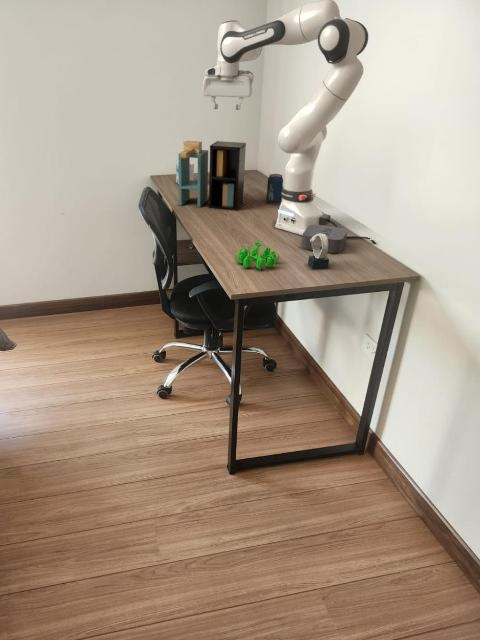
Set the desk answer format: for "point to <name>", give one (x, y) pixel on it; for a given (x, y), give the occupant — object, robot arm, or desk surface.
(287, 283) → the desk surface
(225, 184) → the shelf
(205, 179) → the stand
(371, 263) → the desk surface
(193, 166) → the light bulb box
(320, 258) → the watch
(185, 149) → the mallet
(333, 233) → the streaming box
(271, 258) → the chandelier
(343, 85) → the robot arm
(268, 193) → the soda can
